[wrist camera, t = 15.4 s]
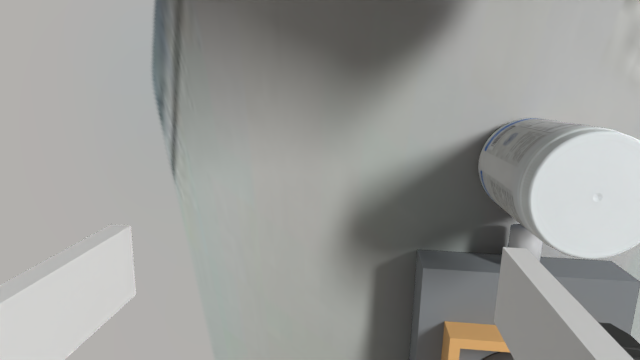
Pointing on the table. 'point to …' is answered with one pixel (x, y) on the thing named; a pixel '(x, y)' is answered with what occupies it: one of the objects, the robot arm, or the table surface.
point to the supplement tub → (567, 184)
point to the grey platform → (481, 294)
